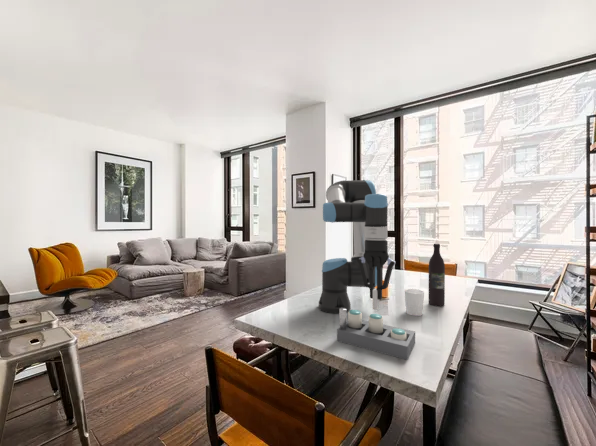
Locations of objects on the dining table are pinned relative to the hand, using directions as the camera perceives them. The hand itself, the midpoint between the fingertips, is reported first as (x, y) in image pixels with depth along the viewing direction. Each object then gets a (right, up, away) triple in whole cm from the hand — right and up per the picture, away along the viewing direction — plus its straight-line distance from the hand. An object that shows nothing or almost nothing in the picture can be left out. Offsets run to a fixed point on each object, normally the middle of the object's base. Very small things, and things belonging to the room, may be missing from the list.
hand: (376, 308), depth 91 cm
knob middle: (0, -8, 0) cm, 8 cm away
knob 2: (+6, -11, -4) cm, 13 cm away
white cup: (+25, -12, +28) cm, 40 cm away
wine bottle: (+42, -11, +40) cm, 59 cm away
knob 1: (-6, -8, +5) cm, 11 cm away
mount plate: (0, -12, 0) cm, 12 cm away
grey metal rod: (-11, -8, +2) cm, 14 cm away
